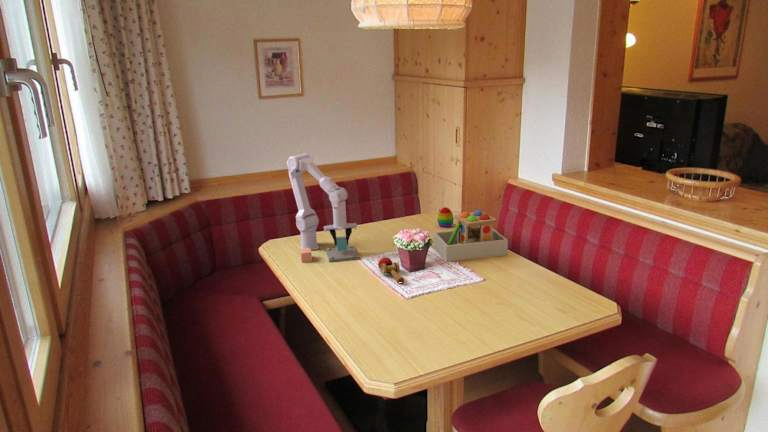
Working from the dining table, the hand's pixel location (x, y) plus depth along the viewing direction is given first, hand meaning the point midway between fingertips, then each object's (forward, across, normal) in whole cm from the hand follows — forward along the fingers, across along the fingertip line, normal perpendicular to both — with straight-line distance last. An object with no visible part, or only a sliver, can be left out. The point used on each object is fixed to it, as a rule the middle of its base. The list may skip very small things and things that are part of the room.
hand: (341, 244), depth 245 cm
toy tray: (+5, +56, -11) cm, 58 cm away
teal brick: (+2, 0, 0) cm, 2 cm away
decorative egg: (+5, +57, +26) cm, 63 cm away
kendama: (+6, +17, -29) cm, 34 cm away
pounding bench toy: (+5, +54, -12) cm, 56 cm away
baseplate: (+5, 0, 0) cm, 5 cm away
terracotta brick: (+5, -16, -1) cm, 17 cm away
